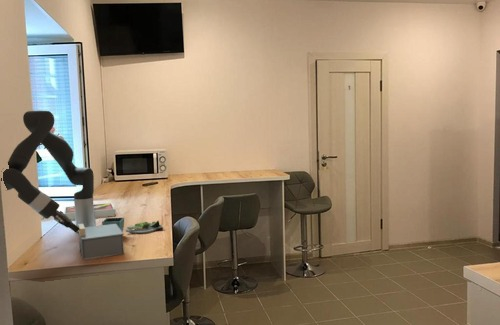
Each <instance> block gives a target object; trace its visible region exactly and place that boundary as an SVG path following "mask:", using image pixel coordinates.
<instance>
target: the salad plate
mask: <svg viewBox="0 0 500 325" xmlns="http://www.w3.org/2000/svg"><path fill="white" fill-rule="evenodd" d="M163 228H164V226H163V225H161V224H160V221H159V220H156V221H152V222H148V221H142V222H139V223H138V222H137V223H134V225H129V226H126V227H125V228H124V229H125V231H126V232H127V233H131V234H148V233H149V234H150V233H152V232H156V231H160V230H162V229H163Z"/></svg>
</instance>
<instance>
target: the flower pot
mask: <svg viewBox="0 0 500 325" xmlns="http://www.w3.org/2000/svg"><path fill="white" fill-rule="evenodd" d="M109 224H117V226H118V227H119V228H120V230H121V231H122V232H123V233H124V229H125V217H105V219H103V221H101V225H109Z"/></svg>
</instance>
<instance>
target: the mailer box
mask: <svg viewBox="0 0 500 325" xmlns="http://www.w3.org/2000/svg"><path fill="white" fill-rule="evenodd" d="M78 243H79V244H78V245H79V249H80V254H81V256H82V260H83V261H86V260H87V261H88V260H95V259H100V258H107V257H113V256H119V255H120V256H121V255H124V235H120V236H113V237H105V238H97V239H90V240H82V241H81V238H80V235H79V234H78Z"/></svg>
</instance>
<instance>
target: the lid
mask: <svg viewBox="0 0 500 325" xmlns="http://www.w3.org/2000/svg"><path fill="white" fill-rule="evenodd" d="M78 227H79V230H78V232H77V233H78V236H79V235H80V238H81V241H82V240H90V239H97V238H105V237H113V236H120V235H123V236H124V234H125V233H124V231H123V232H122V231H121V230H120V228H119V227H118V226H117V224H109V225H102V224H100V225H96V226H92V227H84V224H78Z"/></svg>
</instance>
